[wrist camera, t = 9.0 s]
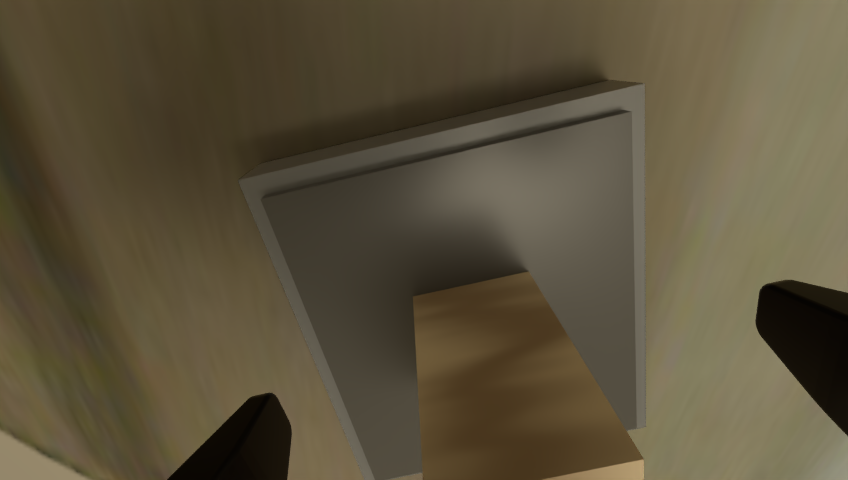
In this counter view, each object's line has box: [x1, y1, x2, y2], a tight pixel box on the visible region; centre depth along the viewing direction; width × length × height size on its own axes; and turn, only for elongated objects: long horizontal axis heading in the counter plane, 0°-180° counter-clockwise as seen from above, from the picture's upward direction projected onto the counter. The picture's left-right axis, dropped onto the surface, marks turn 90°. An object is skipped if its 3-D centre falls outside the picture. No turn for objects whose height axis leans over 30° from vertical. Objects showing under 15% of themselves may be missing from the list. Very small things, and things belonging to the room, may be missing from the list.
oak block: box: [413, 271, 644, 480], centre depth 13 cm, size 4×4×8 cm
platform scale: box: [238, 80, 646, 480], centre depth 18 cm, size 14×16×3 cm
